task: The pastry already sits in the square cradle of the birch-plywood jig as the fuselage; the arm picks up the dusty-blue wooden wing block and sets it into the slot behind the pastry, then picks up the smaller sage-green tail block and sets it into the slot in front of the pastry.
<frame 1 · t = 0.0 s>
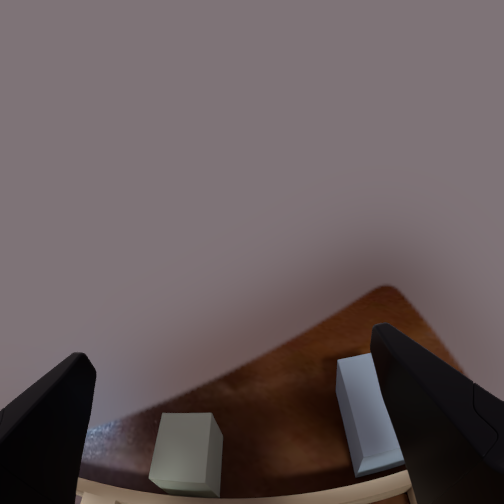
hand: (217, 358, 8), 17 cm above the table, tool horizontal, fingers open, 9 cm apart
wing block: (368, 427, 20), on the table
tail block: (197, 466, 19), on the table
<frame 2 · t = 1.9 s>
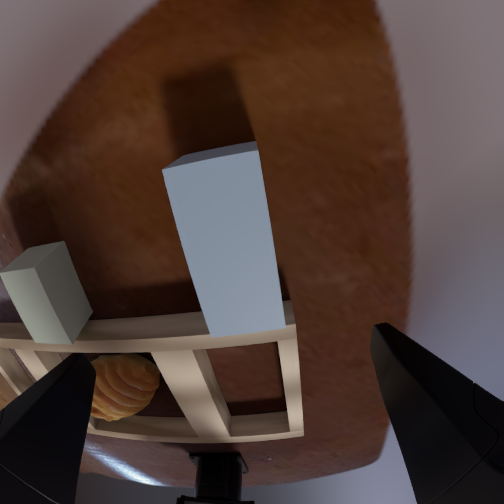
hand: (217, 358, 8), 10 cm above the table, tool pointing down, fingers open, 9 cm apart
pastry: (118, 373, 24), on the table
wing block: (234, 222, 18), on the table
jig: (122, 380, 24), on the table
tail block: (60, 279, 19), on the table
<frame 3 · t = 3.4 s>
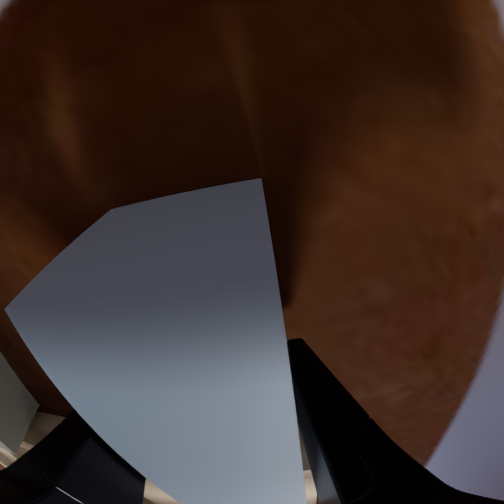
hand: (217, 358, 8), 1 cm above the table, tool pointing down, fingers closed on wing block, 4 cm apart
wing block: (220, 334, 9), on the table, touching gripper
jig: (93, 465, 16), on the table
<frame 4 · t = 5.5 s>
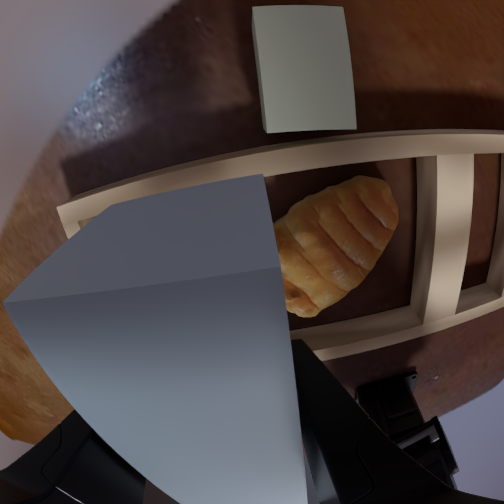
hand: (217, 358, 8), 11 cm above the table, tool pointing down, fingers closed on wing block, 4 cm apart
pastry: (317, 236, 19), on the table
wing block: (220, 331, 9), point 10 cm above the table, touching gripper
jig: (335, 250, 19), on the table
tail block: (293, 75, 14), on the table
when the fingers open (4 cm above the table, at t = 7.6 s): wing block drops 3 cm, on the table.
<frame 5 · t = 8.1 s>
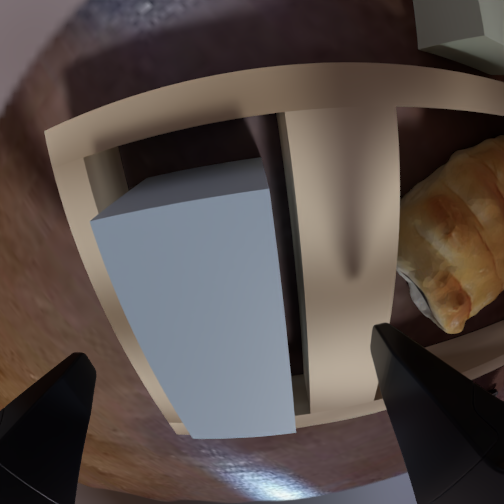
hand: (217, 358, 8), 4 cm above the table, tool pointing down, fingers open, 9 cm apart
pastry: (454, 214, 11), on the table
wing block: (226, 278, 12), on the table
jig: (478, 242, 11), on the table
tail block: (448, 0, 6), on the table
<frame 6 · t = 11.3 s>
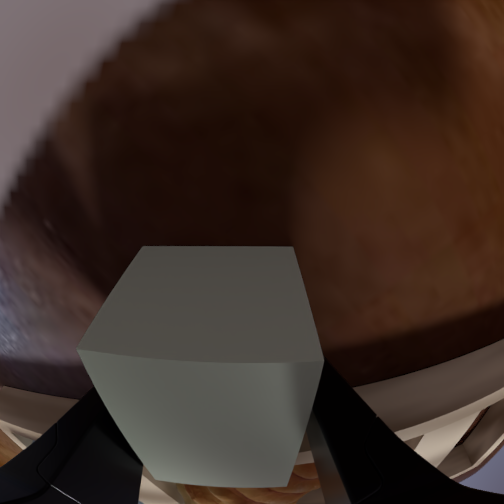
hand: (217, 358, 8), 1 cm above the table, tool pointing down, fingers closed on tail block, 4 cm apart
pastry: (252, 450, 14), on the table
jig: (282, 465, 14), on the table
tail block: (220, 334, 9), on the table, touching gripper
when the fingers open (4 cm above the table, at t = 14.9 s): tail block drops 3 cm, on the table.
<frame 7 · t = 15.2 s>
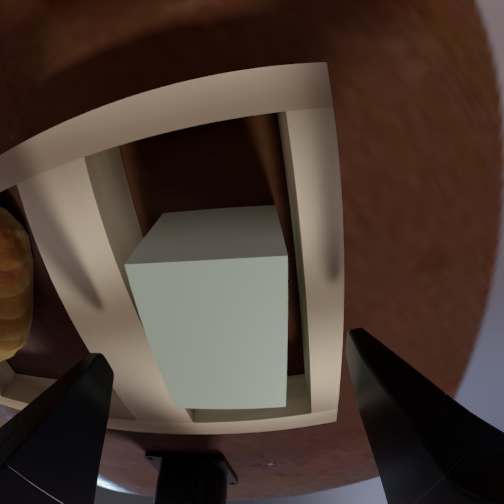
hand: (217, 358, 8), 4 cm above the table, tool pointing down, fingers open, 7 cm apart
jig: (20, 304, 12), on the table
tail block: (226, 280, 12), on the table
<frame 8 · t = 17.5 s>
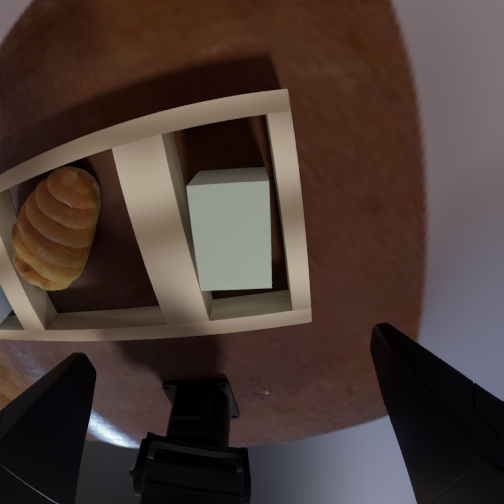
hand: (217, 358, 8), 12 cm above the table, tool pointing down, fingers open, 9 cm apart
pastry: (62, 223, 19), on the table
jig: (80, 243, 20), on the table
tail block: (235, 214, 19), on the table
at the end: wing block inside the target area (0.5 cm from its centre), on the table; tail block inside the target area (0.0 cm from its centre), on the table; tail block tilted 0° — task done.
